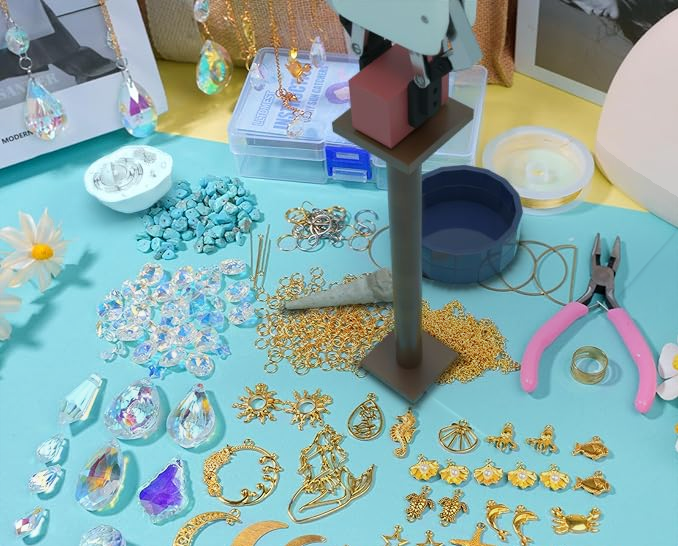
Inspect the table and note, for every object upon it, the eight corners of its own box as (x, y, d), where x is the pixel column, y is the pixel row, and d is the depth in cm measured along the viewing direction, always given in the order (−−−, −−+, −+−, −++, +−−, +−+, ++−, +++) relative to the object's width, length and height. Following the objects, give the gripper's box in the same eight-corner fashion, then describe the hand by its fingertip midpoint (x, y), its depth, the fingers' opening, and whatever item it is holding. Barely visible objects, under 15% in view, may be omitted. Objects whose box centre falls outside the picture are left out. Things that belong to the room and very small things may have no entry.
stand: (405, 322, 98) (396, 70, 69) (458, 358, 95) (474, 109, 65) (360, 366, 95) (331, 122, 66) (413, 405, 92) (408, 165, 62)
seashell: (417, 302, 100) (416, 286, 96) (290, 328, 100) (283, 313, 96) (410, 272, 102) (408, 254, 98) (285, 298, 102) (278, 281, 98)
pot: (449, 182, 111) (450, 148, 106) (540, 233, 104) (546, 200, 99) (377, 247, 105) (374, 215, 100) (469, 306, 99) (471, 274, 94)
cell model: (186, 213, 111) (173, 177, 106) (98, 234, 111) (80, 198, 105) (177, 163, 117) (164, 126, 112) (93, 182, 116) (76, 145, 111)
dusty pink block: (410, 80, 67) (409, 32, 64) (448, 100, 66) (450, 51, 62) (352, 127, 65) (348, 80, 61) (391, 148, 63) (388, 101, 59)
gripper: (548, -127, 47) (518, 123, 62) (334, -198, 55) (353, 41, 70) (466, -68, 44) (455, 179, 59) (253, -150, 52) (291, 88, 67)
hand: (400, 103), depth 64 cm, fingers closed on dusty pink block, 4 cm apart
